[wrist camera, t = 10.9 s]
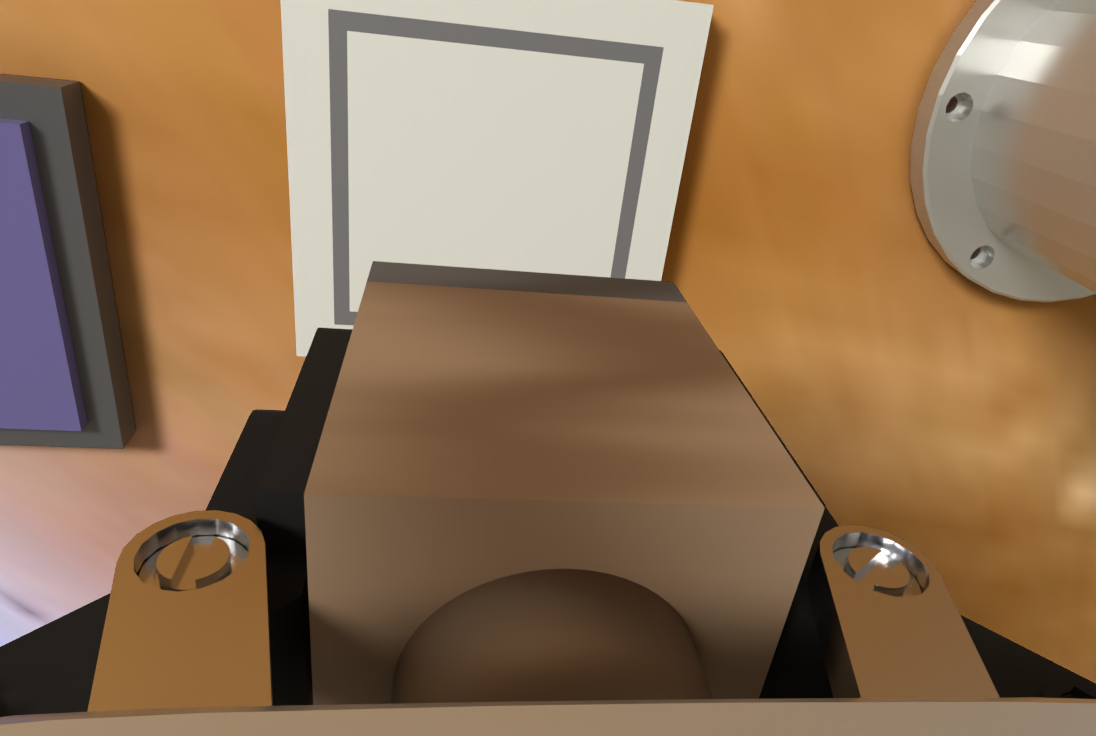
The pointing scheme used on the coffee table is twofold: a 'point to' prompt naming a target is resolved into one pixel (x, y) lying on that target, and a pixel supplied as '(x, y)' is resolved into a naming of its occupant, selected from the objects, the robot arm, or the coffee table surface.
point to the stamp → (544, 499)
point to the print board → (482, 138)
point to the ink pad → (55, 278)
